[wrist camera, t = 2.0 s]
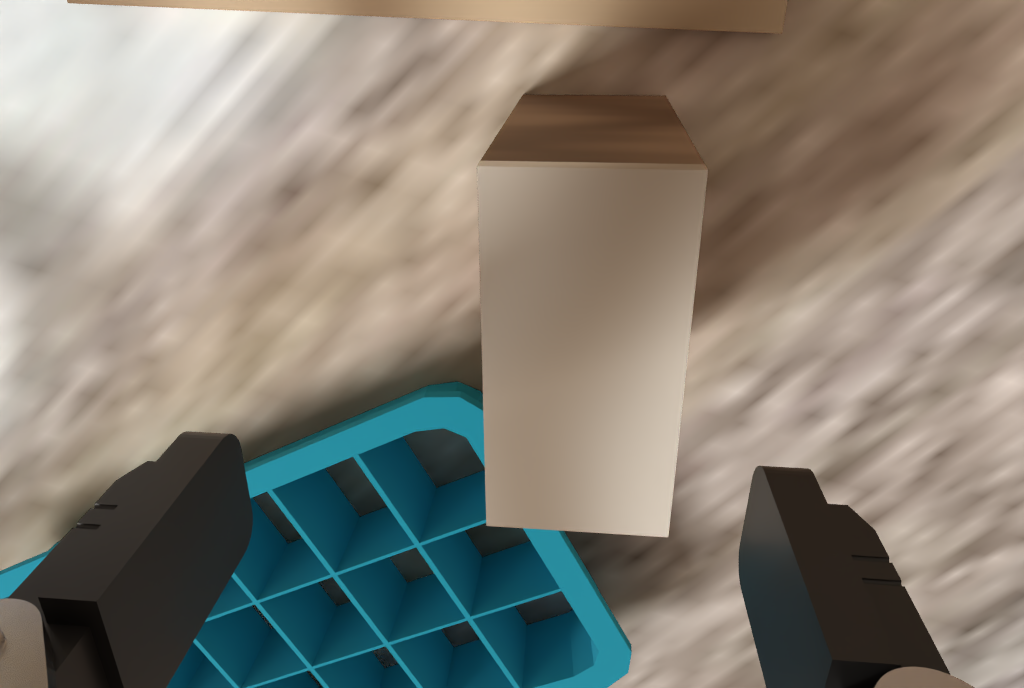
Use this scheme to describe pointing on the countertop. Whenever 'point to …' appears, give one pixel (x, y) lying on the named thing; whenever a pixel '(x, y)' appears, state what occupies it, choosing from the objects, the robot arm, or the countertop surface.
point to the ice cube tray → (392, 575)
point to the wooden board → (525, 11)
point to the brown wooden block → (586, 310)
